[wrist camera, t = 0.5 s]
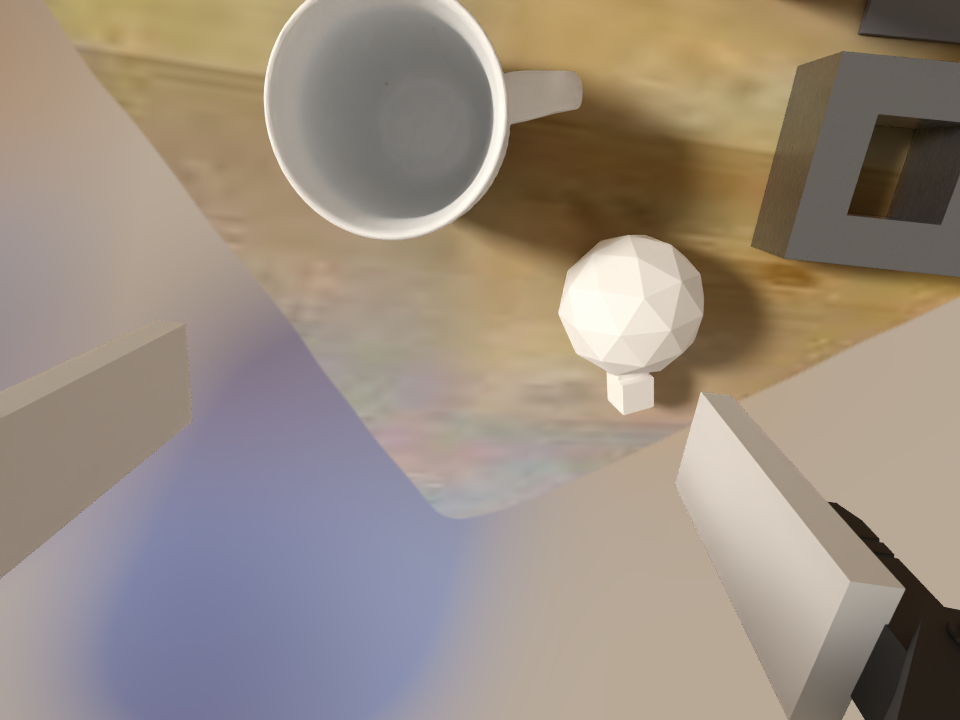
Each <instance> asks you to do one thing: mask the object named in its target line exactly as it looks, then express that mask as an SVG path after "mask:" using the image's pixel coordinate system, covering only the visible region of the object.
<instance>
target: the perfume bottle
mask: <svg viewBox="0 0 960 720" xmlns="http://www.w3.org/2000/svg"><path fill="white" fill-rule="evenodd" d="M703 311H704V293H703V287H702V281H701V274H700V273H699V272H698V271H697V269H696V268H695V267H694V266H693V265H692V264H691V262H690V261H689V260H688V259H687V258H686V257H685V256H684V255H683V254H682V253H680V252H679V251H678V250H677V249H676V248H674V247H673V246H672V245H671V244H668V243H665V242H663V241H660V240H658V239H655V238H652V237H650V236H647V235H626V236H621V237H616V238H611V239H606V240H601V241H600V242H599V243H598V244H596V245H595V246H594V247H593V248H592V249H591V250H590V251H589V252H588V253H586V254H585V255H584V256H583V257H582V258H581V259H580V260H579V261H578V262H577V263H575V264H574V265H573V266H572V267H571V268H570V269H569V270H568V271H567V276H566V280H565V285H564V289H563V294H562V299H561V303H560V308H559V313H558V314H559V316H560V319H561V321H562V323H563V325H564V327H565V330H566V332H567V334H568V336H569V339H570V341H571V343H572V345H573V348H574V350H575V352H576V354H578V355H580V356H581V357H583V358H585V359H587V360H588V361H590V362H592V363H594V364H595V365H597V366H599V367H601V368H602V369H604V370H606V371H607V391H608V400H609V401H610V402H611V403H612V404H613V405H614V406H615V407H616V408H617V409H618V410H619V411H620V412H621V413H622V414H623V415H626V414H630V413H633V412H637V411H640V410H644V409H647V408H651V407H654V377H652V376H651V375H650V374H649V372H657V371H661V370H662V369H664V368H665V367H666V366H667V365H669V364H670V363H671V362H672V361H674V360H675V359H676V358H677V357H679V356H680V355H681V354H682V353H683V352H684V351H685V350H686V349H687V348H688V347H689V346H690V345H691V344H692V343H693V342H694V341H695V338H696V335H697V332H698V329H699V326H700V323H701V320H702V317H703Z"/></svg>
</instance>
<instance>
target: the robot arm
mask: <svg viewBox="0 0 960 720" xmlns="http://www.w3.org/2000/svg"><path fill="white" fill-rule="evenodd" d="M191 421H192V408H191V393H190V379H189V364H188V350H187V336H186V324H183V323H175V322H167V321H160V320H155V321H153V322H151V323H148V324H146V325H144V326H142V327H140V328H138V329H135V330H133V331H131V332H129V333H127V334H124V335H122V336H120V337H118V338H116V339H113V340H111V341H109V342H107V343H105V344H103V345H100V346H98V347H96V348H94V349H92V350H90V351H87V352H85V353H83V354H81V355H79V356H76V357H74V358H72V359H70V360H68V361H66V362H64V363H61V364H59V365H57V366H55V367H52V368H50V369H48V370H46V371H44V372H42V373H40V374H37V375H35V376H33V377H31V378H29V379H26V380H24V381H22V382H20V383H18V384H15V385H13V386H11V387H9V388H7V389H5V390H2V391H0V578H2V577H3V576H4V575H5V574H7V573H8V572H9V571H10V570H12V569H13V568H14V567H15V566H16V565H18V564H19V563H20V562H21V561H23V560H24V559H25V558H26V557H27V556H29V555H30V554H31V553H32V552H34V551H35V550H36V549H37V548H38V547H40V546H41V545H42V544H43V543H44V542H46V541H47V540H48V539H49V538H51V536H53V535H54V534H55V533H57V532H58V531H59V530H60V529H62V528H63V527H64V526H65V525H66V524H68V523H69V522H70V521H71V520H72V519H74V518H75V517H76V516H77V515H78V514H80V513H81V512H82V511H83V510H85V508H87V507H88V506H89V505H91V504H92V503H93V502H94V501H96V500H97V499H98V498H99V497H100V496H102V495H103V494H104V493H105V492H106V491H108V490H109V489H110V488H111V487H112V486H114V485H115V484H116V483H117V482H119V481H120V480H121V479H122V478H123V477H124V476H126V475H127V474H128V473H130V472H131V471H132V470H133V469H134V468H136V467H137V466H138V465H139V464H140V463H142V462H143V461H144V460H145V459H146V458H148V457H149V456H150V455H151V454H153V453H154V452H155V451H156V450H157V449H159V448H160V447H161V446H162V445H164V444H165V443H166V442H167V441H168V440H170V439H171V438H172V437H173V436H175V435H176V434H177V433H178V432H179V431H181V430H182V429H183V428H184V427H185V426H187V425H188V424H189V423H190V422H191ZM675 487H676V489H677V491H678V493H679V495H680V497H681V499H682V501H683V503H684V505H685V508H686V510H687V512H688V514H689V516H690V518H691V520H692V522H693V524H694V526H695V528H696V530H697V532H698V534H699V536H700V538H701V541H702V542H703V545H704V547H705V549H706V551H707V553H708V555H709V557H710V559H711V561H712V563H713V565H714V567H715V569H716V572H717V574H718V575H719V578H720V580H721V582H722V584H723V586H724V588H725V590H726V592H727V594H728V596H729V599H730V601H731V603H732V605H733V607H734V609H735V611H736V613H737V615H738V617H739V619H740V621H741V623H742V625H743V628H744V629H745V632H746V634H747V636H748V638H749V640H750V642H751V644H752V646H753V648H754V650H755V652H756V654H757V656H758V659H759V661H760V663H761V665H762V666H763V669H764V671H765V673H766V675H767V677H768V679H769V681H770V683H771V685H772V688H773V689H774V692H775V694H776V696H777V698H778V700H779V702H780V704H781V706H782V708H783V710H784V712H785V714H786V716H787V719H788V720H842V718H843V716H844V714H845V712H846V710H847V708H848V706H849V704H850V702H851V700H853V701H854V703H855V704H856V706H857V708H858V709H859V711H860V713H861V714H862V716H863V717H864V719H865V720H960V610H957V609H952V608H947V607H944V606H943V605H942V604H941V603H940V602H939V601H938V600H937V599H936V598H935V597H934V596H933V595H932V594H931V593H930V592H929V591H928V590H927V588H925V586H924V585H923V584H922V583H921V582H920V581H919V580H918V579H917V578H916V577H915V576H914V575H913V574H912V573H911V572H910V571H909V570H908V569H907V567H906V566H905V565H904V564H903V563H902V562H901V561H900V560H899V559H897V558H894V554H893V553H892V552H891V551H890V550H889V548H888V547H887V546H886V545H885V544H884V543H881V542H879V538H878V537H877V536H876V535H875V534H874V533H873V532H872V531H871V529H870V528H869V527H868V526H867V525H866V524H865V523H864V522H863V521H862V520H860V519H859V518H858V517H856V516H855V515H853V514H852V513H850V512H849V511H847V510H846V509H844V508H843V507H841V506H840V505H838V504H837V503H833V502H827V501H826V500H825V499H824V498H823V497H822V496H821V495H820V493H819V492H818V491H817V490H816V489H815V488H814V487H813V486H812V484H811V483H810V482H809V481H808V480H807V479H806V478H805V477H804V476H803V474H802V473H801V472H800V471H799V470H798V469H797V468H796V467H795V466H794V464H793V463H792V462H791V461H790V460H789V459H788V458H787V457H786V456H785V455H784V453H783V452H782V451H781V450H780V449H779V448H778V447H777V446H776V445H775V443H774V442H773V441H772V440H771V439H770V438H769V437H768V436H767V434H766V433H765V432H764V431H763V430H762V429H761V428H760V427H759V426H758V424H757V423H756V422H755V421H754V420H753V419H752V418H751V417H750V416H749V414H748V413H747V412H746V411H745V410H744V409H743V408H742V407H741V406H740V404H739V403H738V402H737V401H736V400H735V399H734V398H733V397H732V396H731V395H723V394H715V393H708V392H701V394H700V397H699V401H698V404H697V408H696V411H695V415H694V418H693V422H692V426H691V430H690V433H689V436H688V440H687V443H686V447H685V451H684V454H683V458H682V461H681V465H680V468H679V472H678V476H677V479H676V483H675Z"/></svg>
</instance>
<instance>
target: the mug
mask: <svg viewBox="0 0 960 720" xmlns="http://www.w3.org/2000/svg"><path fill="white" fill-rule="evenodd" d="M582 95H583V90H582V82H581V79H580V77H579V75H578V74H577V73H576V72H573V71H543V70H527V71H512V72H508V73H503V70H502V67H501V63H500V61H499V59H498V56H497V54H496V52H495V50H494V47H493V45H492V43H491V41H490V39H489V38H488V36H487V34H486V32H485V31H484V30H483V28H482V27H481V26H480V24H479V23H478V21H477V20H476V19H475V18H474V17H473V15H472V14H471V13H470V12H469V11H468V10H467V9H466V8H465V7H464V6H463V5H462V4H461V3H460V2H458V1H457V0H306V1H305V2H304V3H303V4H302V5H301V6H300V7H299V8H298V9H297V10H296V11H295V12H294V13H293V15H292V16H291V17H290V19H289V20H288V21H287V22H286V24H285V26H284V27H283V29H282V31H281V32H280V34H279V36H278V38H277V41H276V43H275V45H274V47H273V50H272V52H271V56H270V59H269V63H268V67H267V72H266V77H265V86H264V109H265V119H266V126H267V130H268V134H269V138H270V142H271V145H272V148H273V151H274V154H275V156H276V158H277V161H278V163H279V165H280V167H281V169H282V171H283V173H284V174H285V176H286V177H287V179H288V181H289V182H290V184H291V185H292V186H293V188H294V189H295V190H296V192H297V193H298V194H299V196H300V197H301V198H302V199H303V200H304V201H305V202H306V203H307V204H308V205H309V206H310V207H311V208H312V209H313V210H314V211H316V212H317V213H318V214H319V215H321V216H322V217H323V218H325V219H326V220H328V221H329V222H331V223H333V224H334V225H336V226H338V227H340V228H342V229H344V230H346V231H349V232H351V233H354V234H357V235H360V236H364V237H368V238H373V239H380V240H406V239H412V238H417V237H421V236H425V235H428V234H430V233H433V232H435V231H437V230H439V229H442V228H444V227H446V226H447V225H449V224H450V223H453V222H454V221H455V220H456V219H458V218H459V217H460V216H462V215H464V214H465V213H466V212H467V211H469V210H471V208H472V207H473V206H474V205H475V204H476V203H477V202H479V200H480V199H481V198H482V196H483V195H484V194H486V192H487V191H488V189H489V187H490V186H491V185H492V183H493V182H494V179H495V178H496V176H497V175H498V172H499V169H500V167H501V166H502V162H503V159H504V157H505V155H506V149H507V147H508V139H509V136H510V125H511V124H515V123H520V122H525V121H529V120H533V119H536V118H540V117H544V116H547V115H552V114H556V113H561V112H566V111H572V110H576V109H578V108H579V107H580V106H581V103H582Z"/></svg>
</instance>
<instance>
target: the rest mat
mask: <svg viewBox="0 0 960 720" xmlns="http://www.w3.org/2000/svg"><path fill="white" fill-rule="evenodd" d="M858 34H862V35H872V36H882V37H893V38H903V39H913V40H924V41H934V42H944V43H955V44H960V0H868V1H867V4H866V8H865V11H864V15H863V18H862V22H861V25H860V29H859V32H858Z"/></svg>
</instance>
